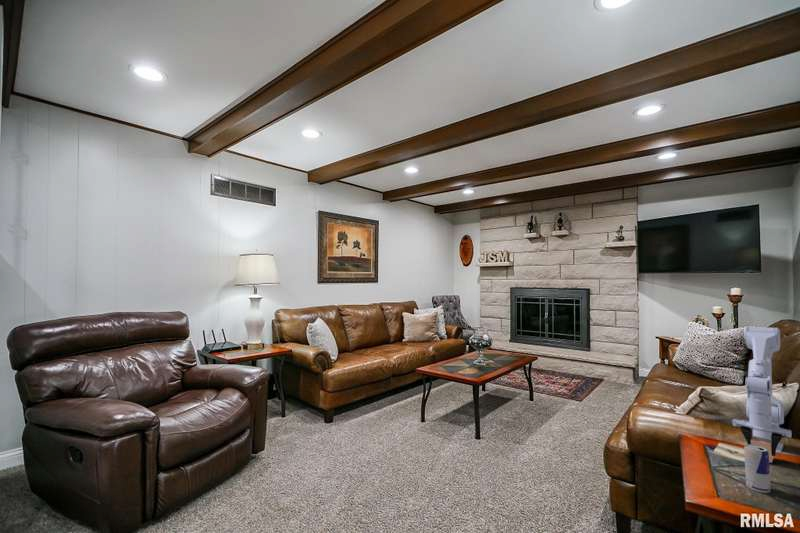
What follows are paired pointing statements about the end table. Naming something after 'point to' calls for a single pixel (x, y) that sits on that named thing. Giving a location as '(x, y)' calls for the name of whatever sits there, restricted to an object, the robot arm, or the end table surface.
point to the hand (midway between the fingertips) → (762, 452)
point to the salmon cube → (763, 445)
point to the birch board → (730, 451)
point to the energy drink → (757, 468)
